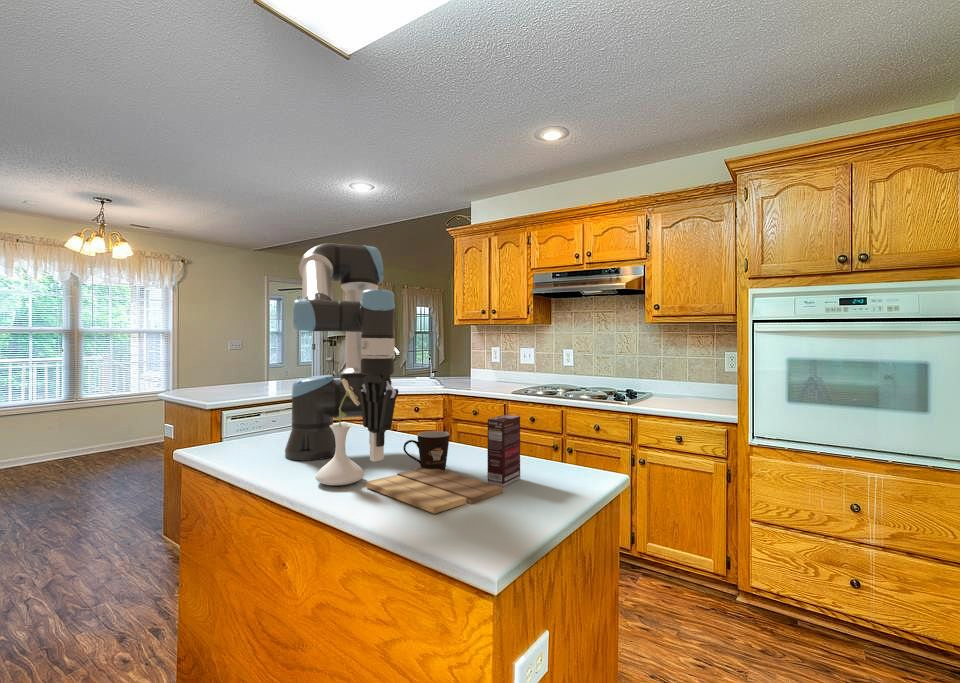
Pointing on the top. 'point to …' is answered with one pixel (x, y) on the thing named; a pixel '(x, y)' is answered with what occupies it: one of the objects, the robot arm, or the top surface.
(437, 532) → the top surface
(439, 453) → the coffee mug
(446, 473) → the laid strip
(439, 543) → the top surface
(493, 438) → the supplement box
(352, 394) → the flower in vase
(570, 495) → the top surface
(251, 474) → the top surface
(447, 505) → the plank
